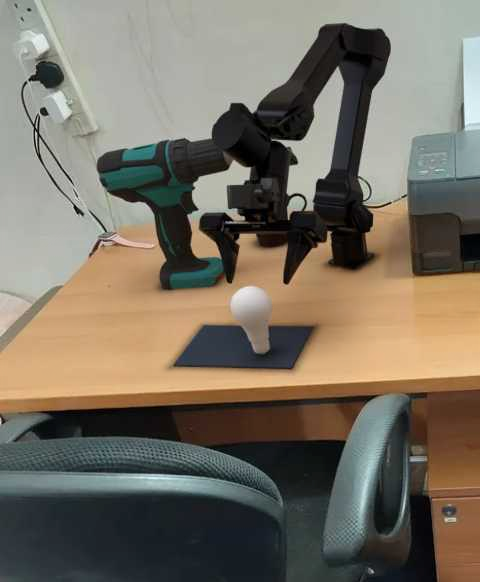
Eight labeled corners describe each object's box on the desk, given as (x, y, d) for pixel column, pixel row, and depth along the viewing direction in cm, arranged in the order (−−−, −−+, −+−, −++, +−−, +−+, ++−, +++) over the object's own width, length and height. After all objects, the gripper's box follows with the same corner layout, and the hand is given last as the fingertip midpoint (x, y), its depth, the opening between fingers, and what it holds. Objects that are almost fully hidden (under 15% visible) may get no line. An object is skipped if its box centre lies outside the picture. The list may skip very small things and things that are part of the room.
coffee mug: (247, 249, 135) (235, 200, 129) (263, 232, 142) (253, 185, 135) (299, 250, 132) (290, 200, 126) (314, 232, 138) (306, 184, 132)
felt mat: (313, 327, 107) (313, 326, 107) (292, 369, 98) (291, 367, 98) (203, 326, 112) (203, 325, 112) (173, 366, 103) (173, 364, 103)
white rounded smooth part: (246, 368, 99) (228, 302, 92) (240, 348, 104) (223, 284, 97) (285, 358, 100) (271, 292, 93) (278, 339, 105) (264, 275, 98)
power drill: (274, 262, 129) (245, 125, 113) (264, 283, 122) (232, 140, 106) (148, 271, 133) (103, 140, 117) (132, 292, 126) (82, 155, 110)
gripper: (185, 158, 94) (172, 264, 93) (307, 152, 89) (295, 265, 88) (222, 192, 105) (211, 288, 104) (333, 189, 100) (322, 290, 99)
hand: (256, 283), depth 98 cm, fingers open, 9 cm apart
